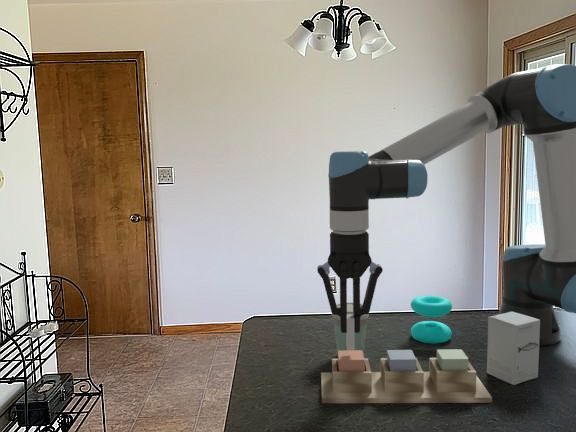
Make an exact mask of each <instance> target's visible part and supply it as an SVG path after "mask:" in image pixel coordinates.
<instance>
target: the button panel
mask: <svg viewBox="0 0 576 432" xmlns="http://www.w3.org/2000/svg"><path fill="white" fill-rule="evenodd" d="M415 358H416V371H388V368H387V357H380V359H379V360H380V362H379V363H380V371H372V370H371V366H370V363H369V362H370V361H369V358H368V357H367V358H365V357H364V359H365V371H355V372H338V358H331V368H332V369H331V372H330V371H329V372H320V377H321V378H320V379H321V381H320V383H321V384H320V387H321V404H423V403H424V404H432V403H433V404H440V403H441V404H444V403H445V404H449V403H450V404H451V403H452V404H455V403H456V404H457V403H463V404H464V403H466V404H469V403H471V404H473V403H474V404H475V403H477V404H478V403H484V404H485V403H487V404H489V403H493V396H492V395H491V394H490V393H489V391H488V390H487V388H486V387H485V385H484V384H483V383H482V381H481V380H480V378H479V377H478V374H477V371H476V370H475V368H474V367H473V366H472V364H471V363H470V362H469V360H468V371H440V369H439V367H438V365H437V357H429V358H428V362H429V363H428V364H429V365H428V369H429V370H428V371H423V368H422V366H421V364H420V362H419V360H418V357H415Z"/></svg>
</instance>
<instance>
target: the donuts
mask: <svg viewBox="0 0 576 432" xmlns="http://www.w3.org/2000/svg"><path fill="white" fill-rule="evenodd" d="M410 308H411V310H412V311H413V312H414V313H416V314H418V315H420V316H423V317H428V318H439V317H443V316H446V315H448V314H449V313H450V312H451V311H452V308H453V305H452V302H451V301H450V300H449V299H447V298H446V297H443V296H438V295H420V296H417V297H414V298H413V299H412V300H411V302H410ZM452 334H453V333H452V330H451V328H450V327H449V326H448V325H446V324H445V323H442V322H440V321H435V320H423V321H419V322H416V323H415V324H413V325H412V327H411V329H410V335H411V337H412V338H413V339H414V340H416V341H419V342H422V343H425V344H443V343H445V342H446V343H447V342H448V341H449V340H450V339H452Z"/></svg>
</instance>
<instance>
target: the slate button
mask: <svg viewBox="0 0 576 432" xmlns="http://www.w3.org/2000/svg"><path fill="white" fill-rule="evenodd" d="M386 358H387V368H388V371H416V358H417V357H416V356H415V354H414V351H413V350H412V349H386Z"/></svg>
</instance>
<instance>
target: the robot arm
mask: <svg viewBox="0 0 576 432" xmlns="http://www.w3.org/2000/svg"><path fill="white" fill-rule="evenodd" d="M515 125H522V128H523V135H524V137H526V138H527V139H528V140H530V141H531V142H532V145H533V155H534V161H535V170H536V171H535V172H536V177H537V179H536V180H537V188H538V194H539V195H538V196H539V205H540V211H541V218H542V227H543V236H544V244H520V245H512V246H510V245H509V246H508V247H506V248H505V249H504V251H503V257H502V258H503V259H502V304H501V306H500V309H499V312H498V314H497V315H499V314H503V313H508V312H516V313H519V314H523V315H526V316H530V317H533V318H536V319H539V320H540V337H539V347H540V346H550V345H551V346H552V345H554V344H557V343H558V342H560V341H561V329H560V326H559V322H558V319H557V316H556V312H555V309H554V307H556V308H558V309H561V310H563V311H565V312H567V313H571V314H573V313H574V314H576V65H575V64H571V63H570V64H569V63H562V64H550V65H546V66H542V67H538V68H532V69H528V70H523V71H518V72H514V73H511V74H509V75H506V76H505V77H502V78H501V79H499V80H497V81H496V82H494V83H492V84H491V85H489V86H487V87H485V88H484V89H481V90H480V91H479V92H476V93H475V94H473V95H471V96H469V98H468V100H467V103H466V104H463V105H462V106H460V107H458V108H456V109H455V110H453V111H451V112H449V113H446V114H445V115H443V116H441V117H440V118H437V119H436V120H434V121H433V122H430V123H429V124H427V125H424V126H423V127H421V128H419V129H418V130H416V131H414V132H412V133H410V134H408V135H406V136H404V137H403V138H401V139H399V140H398V141H395V142H393V143H392V144H389V145H387V146H386V147H384V148H382V149H381V150H380V151H379V150H378V151H377V152H375V153H373V154H371V155H369V153H368V152H367V151H366V150H358V151H357V150H355V151H354V150H353V151H352V150H351V151H334V152H332V153H331V155H330V156H329V163H328V174H327V176H328V191H329V230H331V232H330V233H329V256H328V257H327V261H326V262H324V263H323V264H320V265H319V264H318V266H317V268H316V269H317V273H318V275H319V276H320V277H321V279H322V281H323V285H324V288H325V293H326V296H327V300H328V304H329V309H330V311H331V315H332V314H333V315H338V316H340V328H341V332H342V333H346V347H347V350H355V333H359V332H360V317H361V316H362V315H364V314H369V313H370V311H371V306H372V303H373V298H374V295H375V291H376V285H377V282H378V280H379V277H380V276H381V274H382V273H383V271H384V269H383V267H382V265H381V264H377V263H376V262H374V261H372V260H373V259H372V257H371V255H370V239H369V237H370V234H369V233H368V231H367V230H368V229H369V228H370V225H369V224H370V223H369V222H370V221H369V216H370V215H369V213H370V212H369V209H370V207H369V206H370V205H369V204H370V200H381V199H382V200H383V199H384V200H385V199H404V198H405V199H409V198H415V197H420V196H422V195H423V194H424V192H425V191H426V190H427V187H428V171H427V167H426V166H425V165H427V164H428V163H429V162H432V161H434V160H436V159H437V158H439V157H441V156H443V155H445V154H447V153H448V152H451V151H452V150H453V149H455V148H457V147H459V146H461V145H463V144H465V143H466V142H469V141H470V140H471V139H474V138H475V137H477V136H479V135H481V134H483V133H484V134H491V133H493V132H495V131H498V130H499V129H503V128H505V127H509V126H515ZM330 268H331V270H332V271H333V272H334V273H335V275H336V276H337V277H338V278H339V304H340V308H339V307H337V302H336V299H335V295H334V292H333V288H332V287H333V286H332V283H331V279H330V277H329V274H331V271H330ZM368 268H369V273H370V274H369V277H368V282H367V286H366V291H365V294H364V299H363V302H362V304H363V306H362V307H360V304H361V277H363V275H364V274H365V272H366V271H367V270H368ZM348 279H352V303H353V314H347V303H348V300H347V299H348V296H347V294H348V290H347V289H348V285H347V284H348V281H347V280H348Z"/></svg>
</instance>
